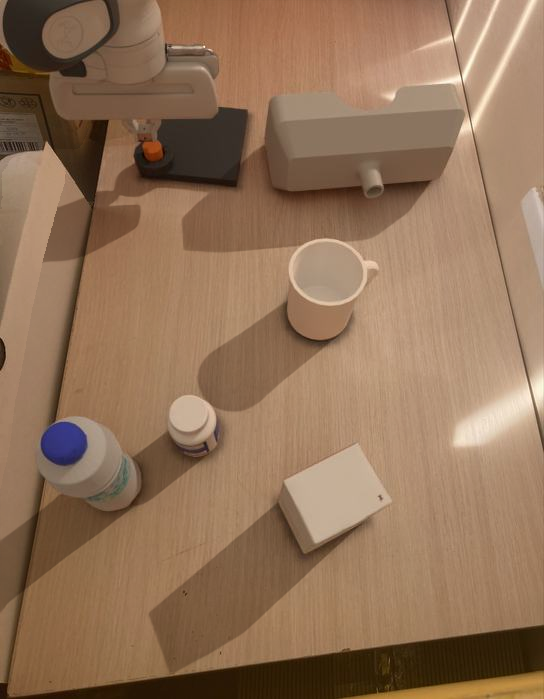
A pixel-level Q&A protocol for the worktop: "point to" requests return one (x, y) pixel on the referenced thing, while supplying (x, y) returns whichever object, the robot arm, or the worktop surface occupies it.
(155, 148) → the button
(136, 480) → the bottle
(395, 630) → the worktop surface
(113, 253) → the worktop surface
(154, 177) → the scale
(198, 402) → the pill bottle
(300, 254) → the mug
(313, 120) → the tank
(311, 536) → the small box
